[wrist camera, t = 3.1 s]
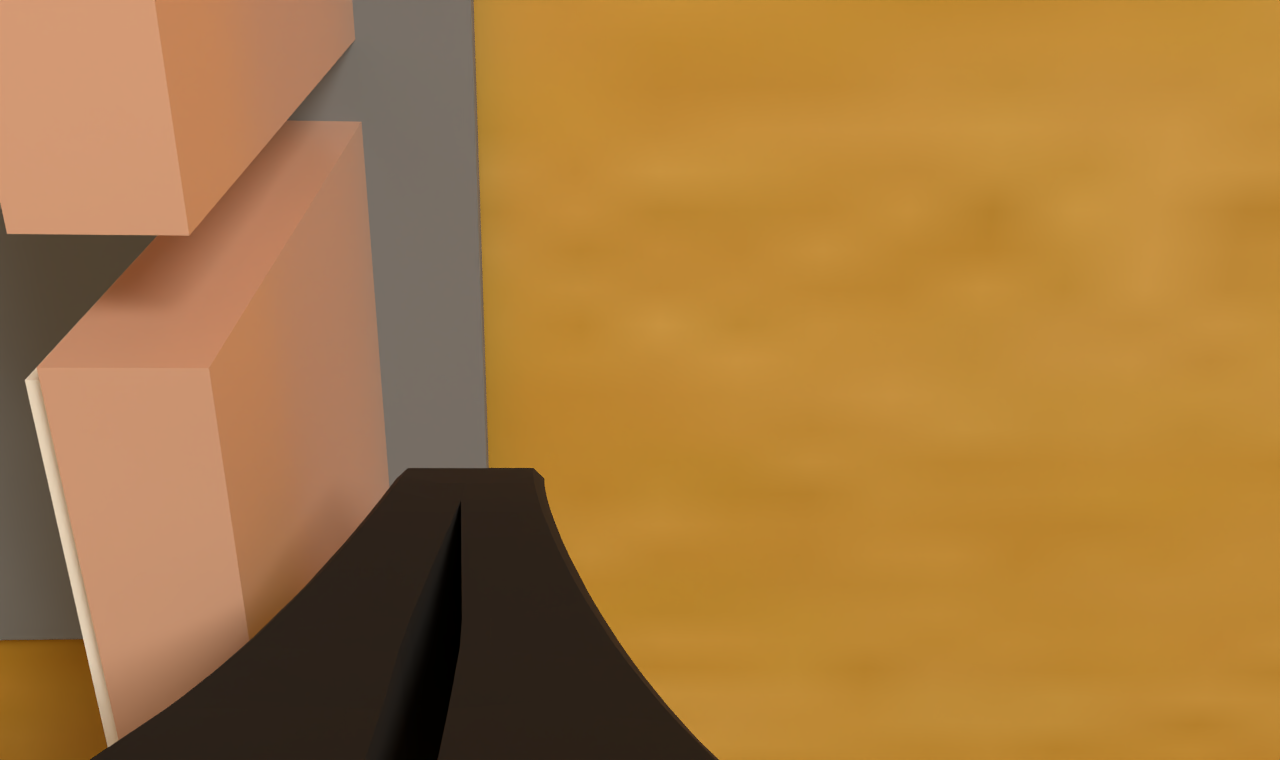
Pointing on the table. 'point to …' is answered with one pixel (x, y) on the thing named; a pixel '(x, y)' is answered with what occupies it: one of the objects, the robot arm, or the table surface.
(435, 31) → the mat
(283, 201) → the tile
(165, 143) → the tile
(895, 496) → the table surface
